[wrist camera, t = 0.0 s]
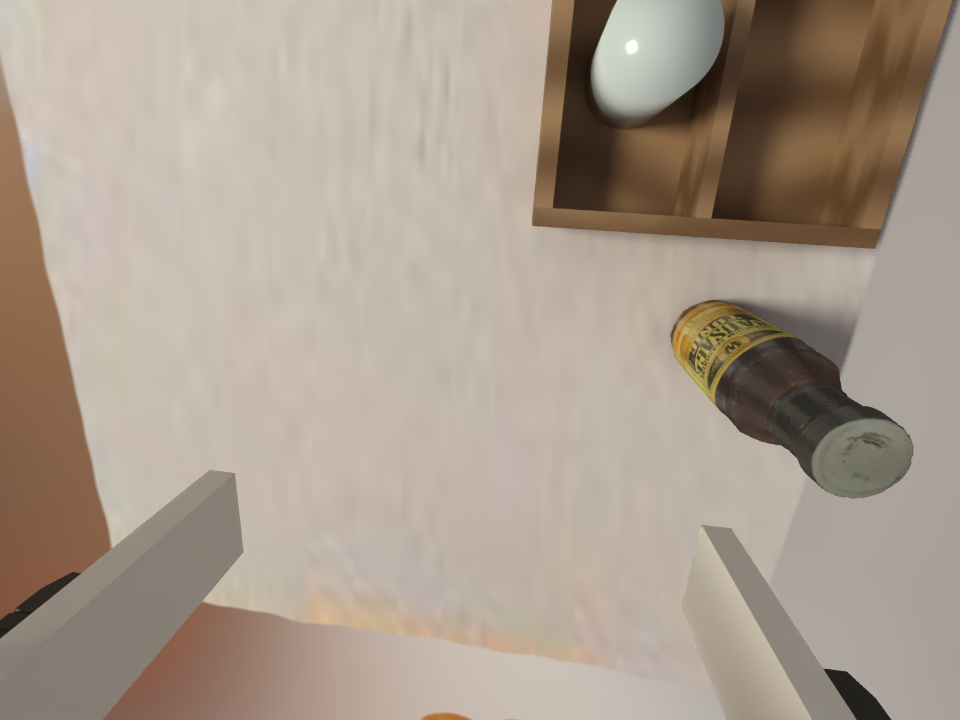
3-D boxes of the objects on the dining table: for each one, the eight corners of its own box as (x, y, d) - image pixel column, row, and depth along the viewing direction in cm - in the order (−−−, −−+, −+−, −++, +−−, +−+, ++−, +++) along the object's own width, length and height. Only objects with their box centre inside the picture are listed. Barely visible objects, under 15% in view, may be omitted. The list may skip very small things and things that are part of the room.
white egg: (590, 31, 32) (614, -36, 23) (679, 34, 32) (736, -33, 23) (579, 127, 34) (597, 97, 25) (663, 131, 33) (710, 102, 25)
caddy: (560, -87, 31) (568, -154, 25) (908, -80, 30) (999, -150, 24) (531, 224, 37) (532, 225, 31) (818, 243, 36) (874, 248, 30)
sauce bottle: (712, 281, 37) (905, 349, 18) (760, 336, 38) (992, 454, 19) (647, 336, 39) (761, 450, 20) (694, 387, 40) (847, 542, 21)
